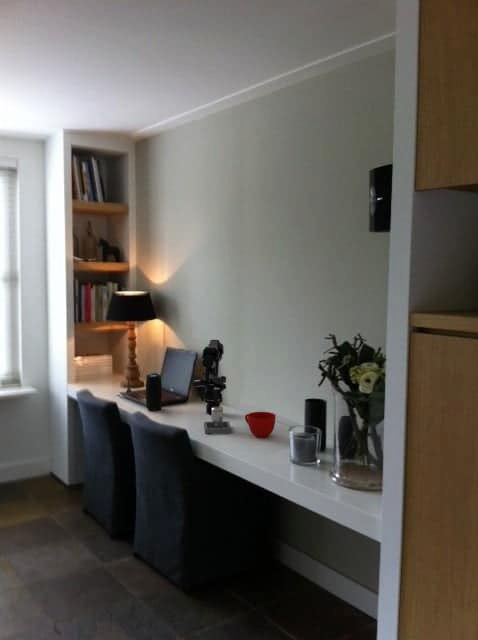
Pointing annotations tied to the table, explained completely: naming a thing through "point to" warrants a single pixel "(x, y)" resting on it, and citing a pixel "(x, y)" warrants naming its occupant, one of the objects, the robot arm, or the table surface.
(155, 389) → the portable speaker
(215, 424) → the grey cylinder
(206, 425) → the duct collar
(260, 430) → the ceramic cup
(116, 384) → the table surface
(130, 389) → the eiffel tower figurine
